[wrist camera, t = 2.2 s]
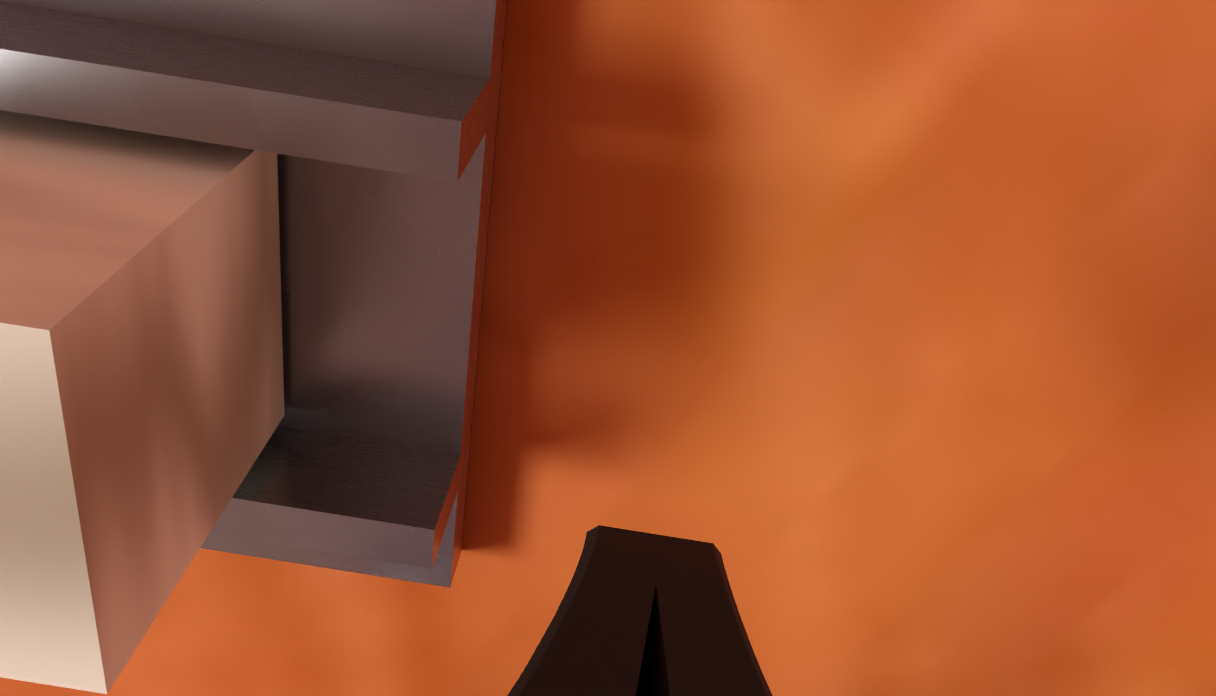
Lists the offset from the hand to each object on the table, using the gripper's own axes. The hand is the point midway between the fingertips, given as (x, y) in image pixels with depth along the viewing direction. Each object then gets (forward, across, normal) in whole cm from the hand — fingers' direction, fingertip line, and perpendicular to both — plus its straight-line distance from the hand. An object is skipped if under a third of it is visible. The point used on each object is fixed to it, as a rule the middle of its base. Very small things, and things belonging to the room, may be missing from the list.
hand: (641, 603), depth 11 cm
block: (+6, +9, 0) cm, 10 cm away
